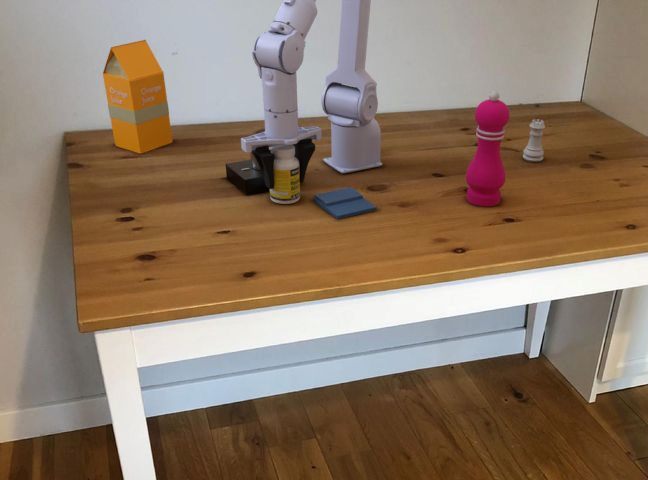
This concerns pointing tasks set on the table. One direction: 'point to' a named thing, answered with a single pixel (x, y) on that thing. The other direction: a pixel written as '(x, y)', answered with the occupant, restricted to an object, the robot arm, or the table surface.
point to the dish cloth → (343, 203)
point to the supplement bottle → (285, 175)
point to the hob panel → (246, 177)
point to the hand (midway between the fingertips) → (284, 183)
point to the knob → (254, 162)
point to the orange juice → (137, 98)
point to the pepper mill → (488, 153)
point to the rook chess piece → (534, 143)
